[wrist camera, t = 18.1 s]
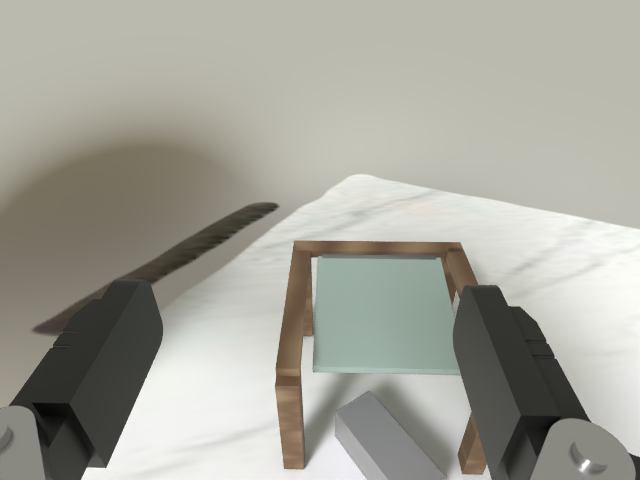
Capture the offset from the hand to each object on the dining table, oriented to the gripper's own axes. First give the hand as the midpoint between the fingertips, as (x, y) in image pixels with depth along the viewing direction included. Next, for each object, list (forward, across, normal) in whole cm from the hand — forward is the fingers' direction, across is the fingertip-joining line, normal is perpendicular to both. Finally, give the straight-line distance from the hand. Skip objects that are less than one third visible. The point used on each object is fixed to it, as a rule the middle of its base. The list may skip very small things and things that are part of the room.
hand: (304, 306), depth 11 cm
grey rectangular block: (+19, -3, +34) cm, 39 cm away
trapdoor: (+25, -6, +24) cm, 35 cm away
